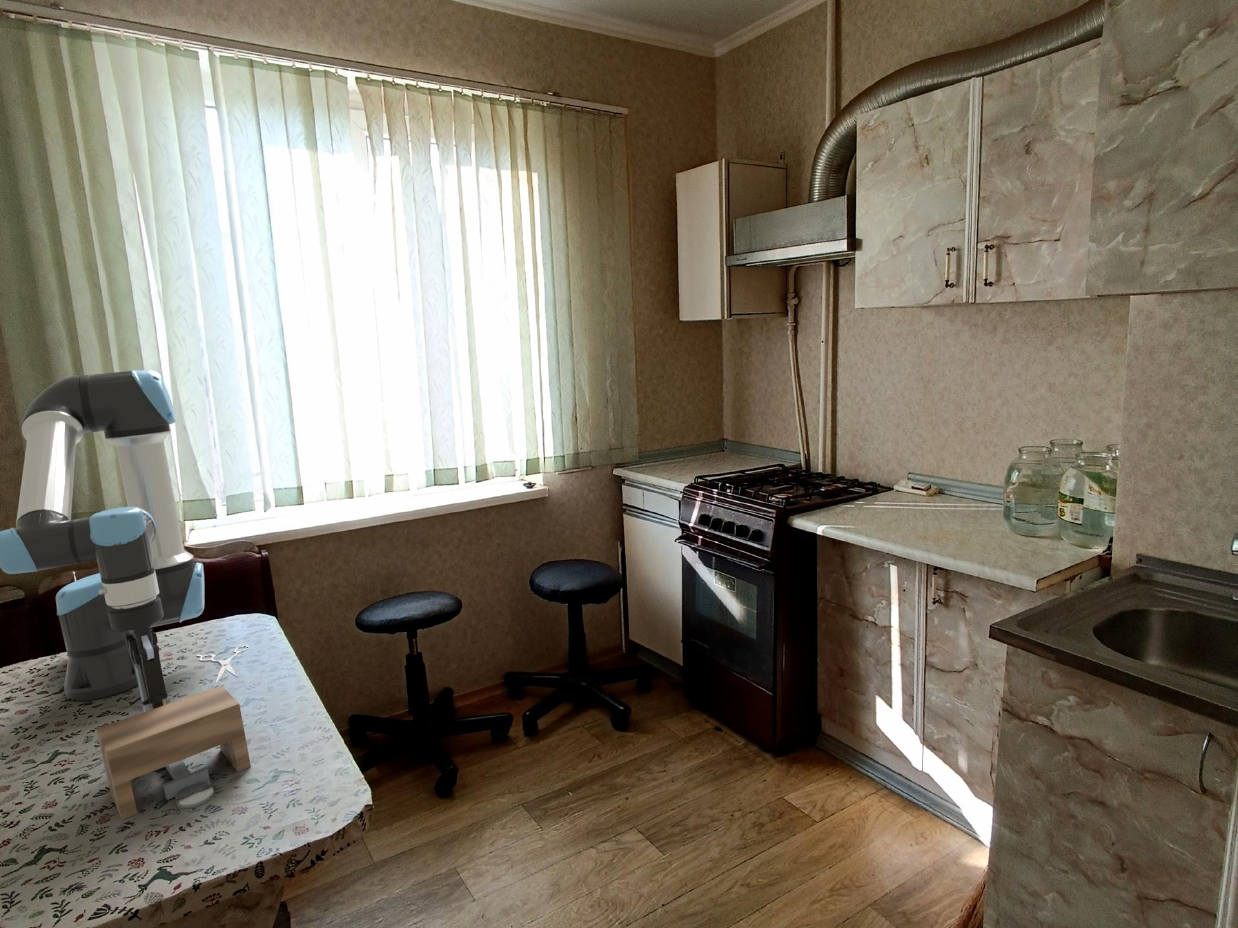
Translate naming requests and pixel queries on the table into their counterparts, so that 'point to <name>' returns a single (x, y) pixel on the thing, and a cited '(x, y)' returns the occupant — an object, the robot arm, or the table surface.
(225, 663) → the scissors
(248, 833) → the table surface
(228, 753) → the wooden arch block
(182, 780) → the push tool
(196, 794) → the steel token
